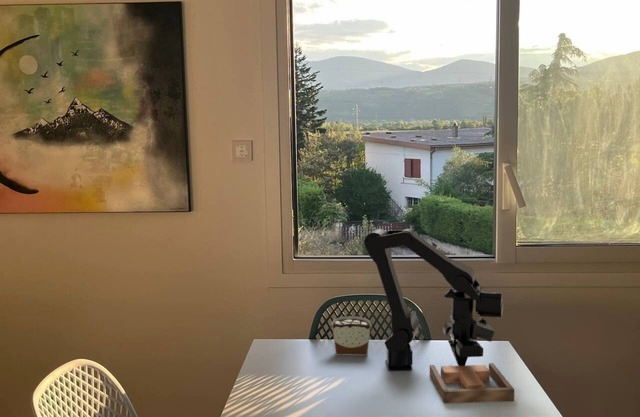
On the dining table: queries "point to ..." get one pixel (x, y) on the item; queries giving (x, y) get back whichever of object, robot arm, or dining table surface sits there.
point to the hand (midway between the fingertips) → (461, 369)
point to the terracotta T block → (466, 375)
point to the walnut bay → (474, 395)
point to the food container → (351, 335)
